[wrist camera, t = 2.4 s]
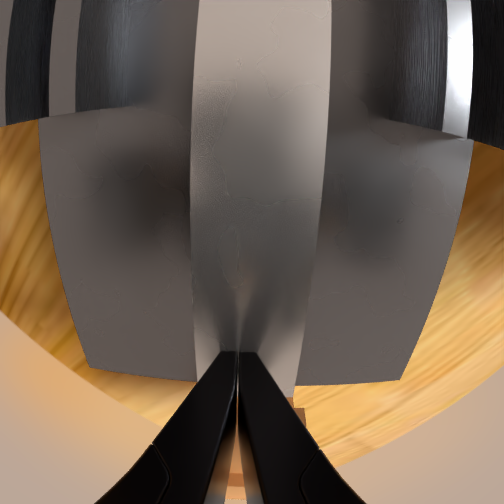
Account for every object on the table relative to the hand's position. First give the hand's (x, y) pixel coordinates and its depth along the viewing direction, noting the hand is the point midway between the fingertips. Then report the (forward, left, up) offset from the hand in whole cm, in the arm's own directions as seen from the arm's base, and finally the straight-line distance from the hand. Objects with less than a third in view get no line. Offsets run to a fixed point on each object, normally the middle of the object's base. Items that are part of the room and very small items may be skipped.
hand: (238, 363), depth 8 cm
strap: (0, -6, -1) cm, 6 cm away
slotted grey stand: (0, -6, -6) cm, 8 cm away
